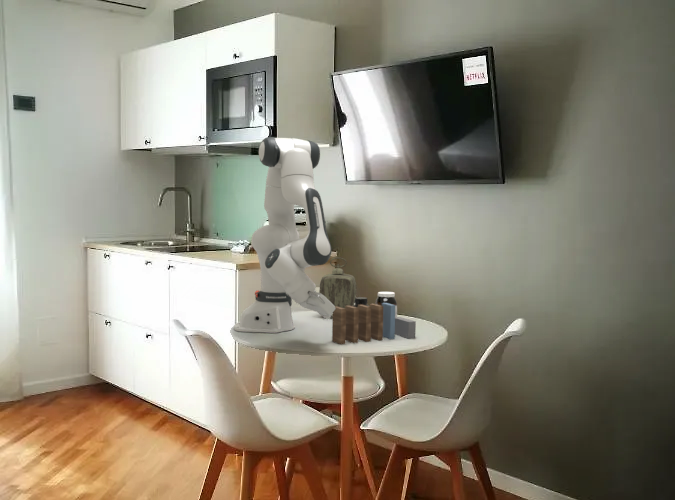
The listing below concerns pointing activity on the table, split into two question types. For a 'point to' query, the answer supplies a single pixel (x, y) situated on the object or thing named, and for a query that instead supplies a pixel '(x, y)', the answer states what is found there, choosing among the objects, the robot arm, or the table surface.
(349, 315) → the domino
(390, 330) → the domino
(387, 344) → the table surface
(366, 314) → the domino
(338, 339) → the domino
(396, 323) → the end stop
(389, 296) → the spread jar
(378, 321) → the domino
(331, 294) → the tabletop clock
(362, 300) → the supplement bottle
